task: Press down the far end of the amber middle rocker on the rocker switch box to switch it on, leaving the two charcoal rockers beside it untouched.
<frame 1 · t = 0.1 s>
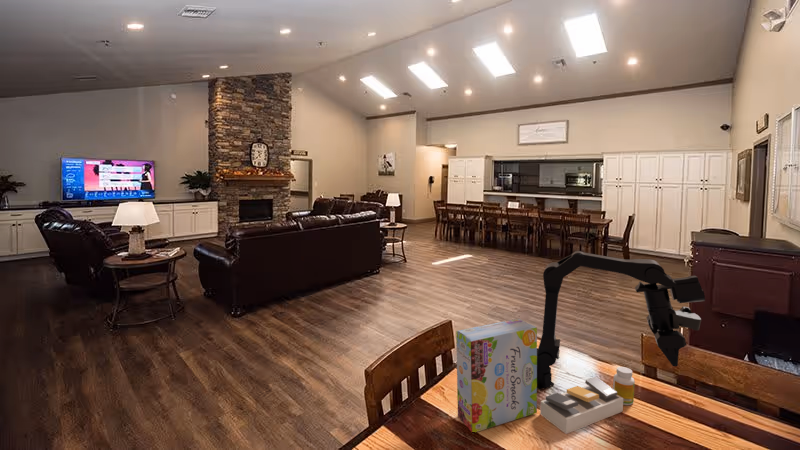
hand: (671, 358, 104), 15 cm above the table, tool pointing down, fingers open, 9 cm apart
rocker middle: (582, 393, 105), point 6 cm above the table, hinge at -9.0°
rocker 1: (561, 400, 102), point 6 cm above the table, hinge at -10.0°
supplement bottle: (622, 401, 111), on the table
snack box: (496, 415, 105), on the table
rocker switch box: (581, 412, 106), on the table
rocker 2: (600, 387, 108), point 6 cm above the table, hinge at 10.0°
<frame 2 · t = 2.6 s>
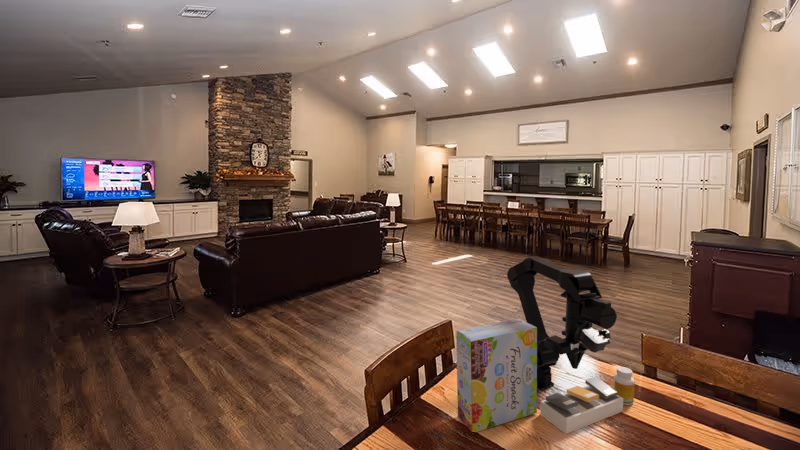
hand: (574, 368, 107), 12 cm above the table, tool pointing down, fingers closed
nothing on the table moved.
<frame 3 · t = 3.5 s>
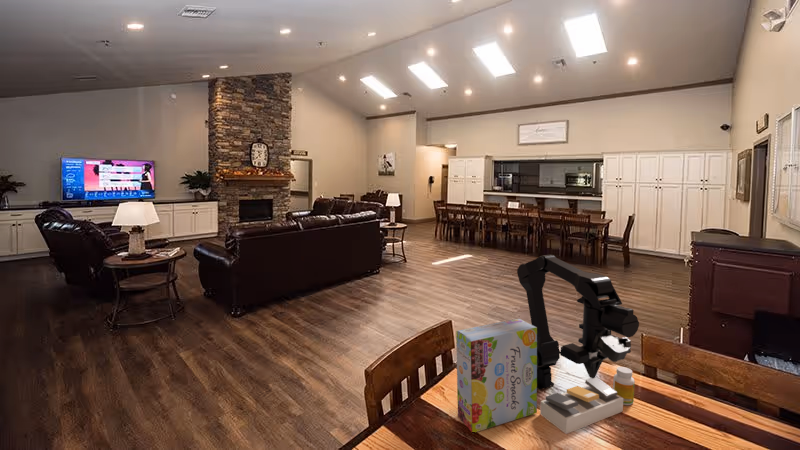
hand: (592, 377, 102), 12 cm above the table, tool pointing down, fingers closed
nothing on the table moved.
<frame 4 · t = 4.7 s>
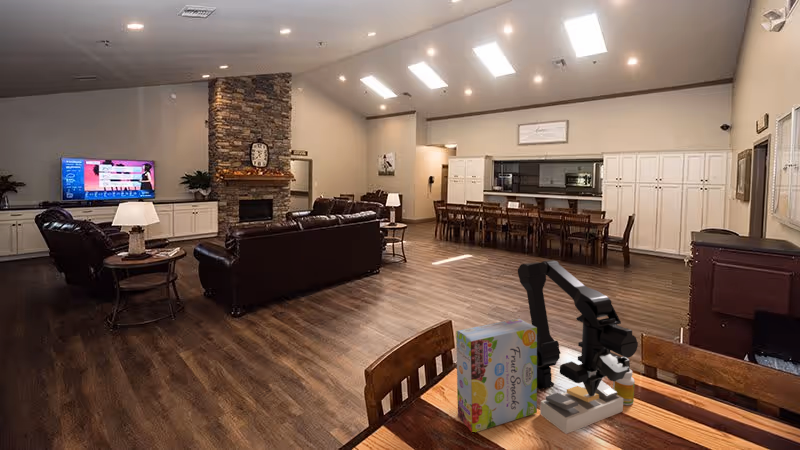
hand: (591, 395, 102), 7 cm above the table, tool pointing down, fingers closed, pressing on rocker middle
rocker middle: (582, 393, 105), point 6 cm above the table, hinge at -9.0°, touching gripper
everything else where it was.
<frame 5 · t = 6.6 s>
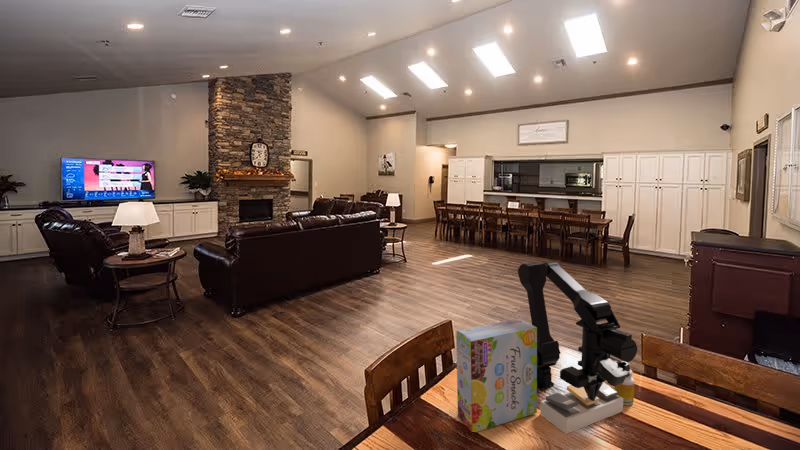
hand: (591, 400, 102), 6 cm above the table, tool pointing down, fingers closed, pressing on rocker middle
rocker middle: (582, 393, 105), point 6 cm above the table, hinge at 8.0°, touching gripper
everything else where it was.
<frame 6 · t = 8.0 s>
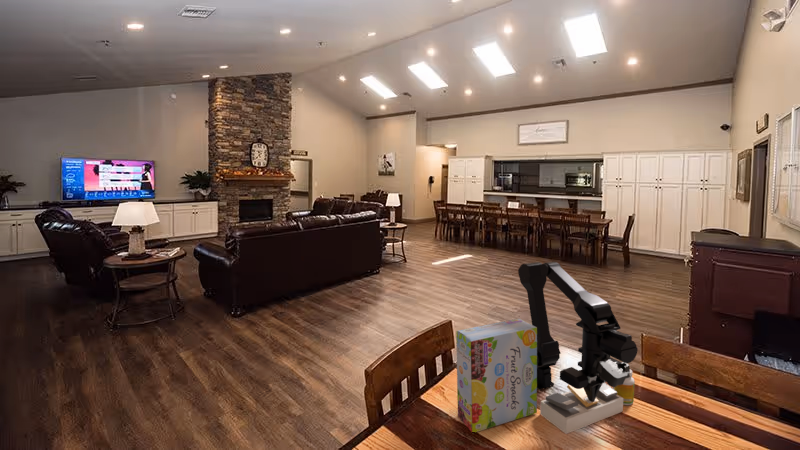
hand: (591, 400, 102), 5 cm above the table, tool pointing down, fingers closed, pressing on rocker middle
rocker middle: (582, 393, 105), point 6 cm above the table, hinge at 19.5°, touching gripper
everything else where it was.
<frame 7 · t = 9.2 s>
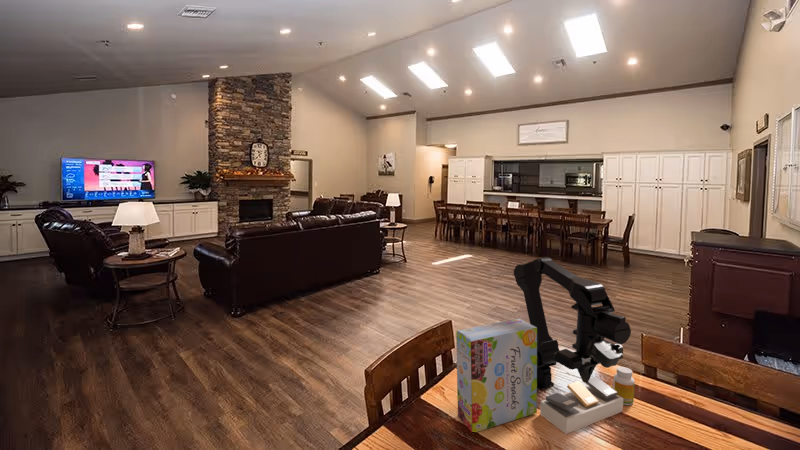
hand: (585, 382, 104), 10 cm above the table, tool pointing down, fingers closed
rocker middle: (582, 393, 105), point 6 cm above the table, hinge at 20.9°, touching rocker switch box
everything else where it was.
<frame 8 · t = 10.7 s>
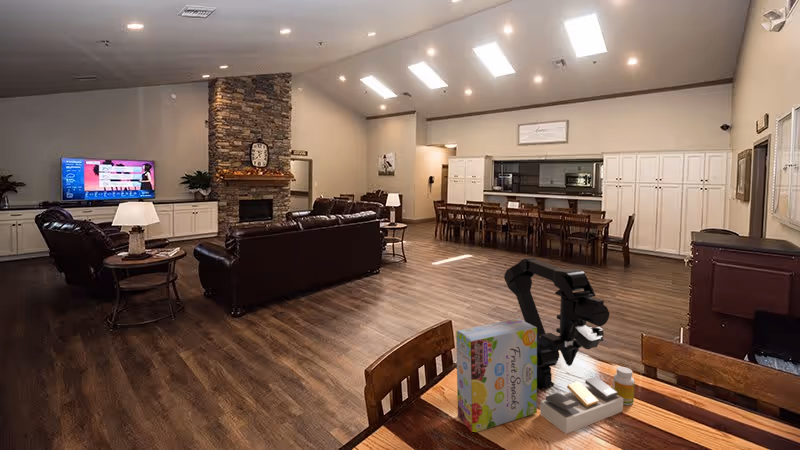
hand: (568, 365, 109), 12 cm above the table, tool pointing down, fingers closed
rocker middle: (582, 393, 105), point 6 cm above the table, hinge at 19.1°
everything else where it was.
at the end: rocker middle at +19° (first picture: -9°); rocker 2 at +10° (first picture: +10°); rocker 1 at -10° (first picture: -10°) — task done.
